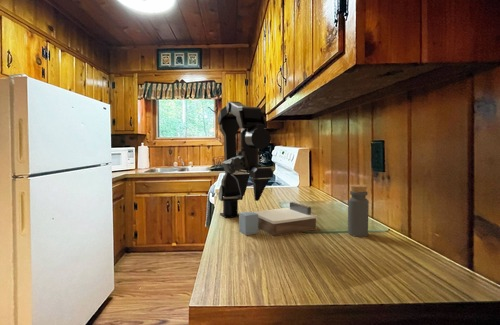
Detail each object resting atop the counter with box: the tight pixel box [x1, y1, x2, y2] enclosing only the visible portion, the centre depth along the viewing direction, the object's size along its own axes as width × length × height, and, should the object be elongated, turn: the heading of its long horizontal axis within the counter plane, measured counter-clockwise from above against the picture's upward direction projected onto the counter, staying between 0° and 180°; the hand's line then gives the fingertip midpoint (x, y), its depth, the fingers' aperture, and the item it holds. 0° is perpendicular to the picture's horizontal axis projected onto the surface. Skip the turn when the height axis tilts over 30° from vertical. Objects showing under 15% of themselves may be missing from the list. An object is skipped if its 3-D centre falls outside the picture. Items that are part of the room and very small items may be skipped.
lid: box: [253, 201, 318, 224], centre depth 99 cm, size 14×16×3 cm
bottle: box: [347, 184, 370, 238], centre depth 91 cm, size 6×6×15 cm
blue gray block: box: [238, 211, 259, 236], centre depth 93 cm, size 4×4×6 cm
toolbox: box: [258, 217, 317, 237], centre depth 99 cm, size 14×16×4 cm
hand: (249, 198), depth 93 cm, fingers open, 9 cm apart
